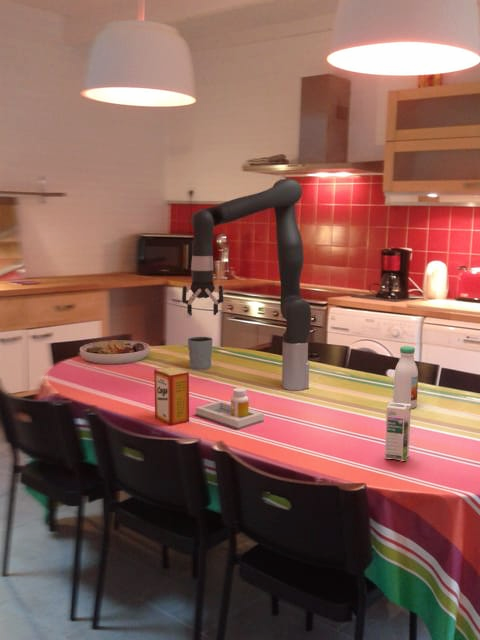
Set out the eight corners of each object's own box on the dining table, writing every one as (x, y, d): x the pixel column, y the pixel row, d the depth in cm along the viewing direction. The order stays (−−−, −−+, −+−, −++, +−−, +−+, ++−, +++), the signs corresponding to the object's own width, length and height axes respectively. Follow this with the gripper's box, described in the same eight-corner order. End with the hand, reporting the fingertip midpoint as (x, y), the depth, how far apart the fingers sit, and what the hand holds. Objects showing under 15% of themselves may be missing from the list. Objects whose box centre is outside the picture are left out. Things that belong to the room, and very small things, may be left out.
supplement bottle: (251, 418, 209) (251, 388, 207) (244, 423, 204) (244, 392, 202) (235, 416, 211) (235, 386, 209) (228, 421, 206) (228, 390, 205)
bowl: (66, 362, 287) (65, 344, 285) (105, 348, 314) (104, 332, 313) (127, 368, 276) (126, 350, 274) (161, 354, 303) (161, 337, 302)
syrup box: (384, 459, 177) (386, 406, 175) (387, 452, 183) (389, 400, 180) (406, 462, 175) (408, 409, 173) (409, 455, 181) (411, 403, 178)
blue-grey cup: (217, 366, 279) (217, 338, 277) (203, 371, 270) (202, 342, 268) (197, 363, 284) (197, 335, 282) (182, 368, 276) (182, 339, 274)
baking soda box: (155, 418, 211) (154, 368, 209) (172, 414, 215) (172, 365, 212) (171, 425, 204) (170, 374, 201) (189, 421, 208) (188, 371, 205)
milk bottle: (403, 410, 220) (406, 350, 217) (388, 404, 227) (390, 346, 223) (421, 407, 223) (424, 348, 220) (405, 401, 230) (408, 344, 227)
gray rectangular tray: (196, 415, 214) (195, 407, 214) (221, 408, 222) (221, 400, 221) (238, 429, 200) (238, 421, 200) (263, 421, 208) (263, 413, 208)
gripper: (182, 270, 228) (183, 317, 230) (224, 269, 230) (224, 316, 233) (181, 268, 235) (181, 313, 238) (221, 267, 237) (221, 312, 240)
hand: (202, 315), depth 235 cm, fingers open, 8 cm apart
